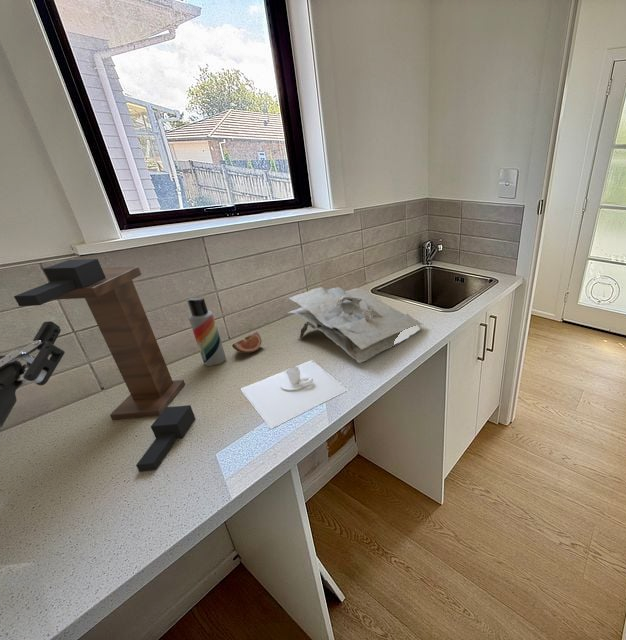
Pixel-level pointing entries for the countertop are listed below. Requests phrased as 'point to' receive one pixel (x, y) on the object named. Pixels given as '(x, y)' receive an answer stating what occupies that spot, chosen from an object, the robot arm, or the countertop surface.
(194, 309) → the lotion bottle
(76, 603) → the countertop surface
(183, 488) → the countertop surface
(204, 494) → the countertop surface
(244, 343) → the fruit slice
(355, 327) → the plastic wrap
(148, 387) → the walnut stand
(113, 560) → the countertop surface
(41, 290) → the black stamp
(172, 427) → the black angular piece
